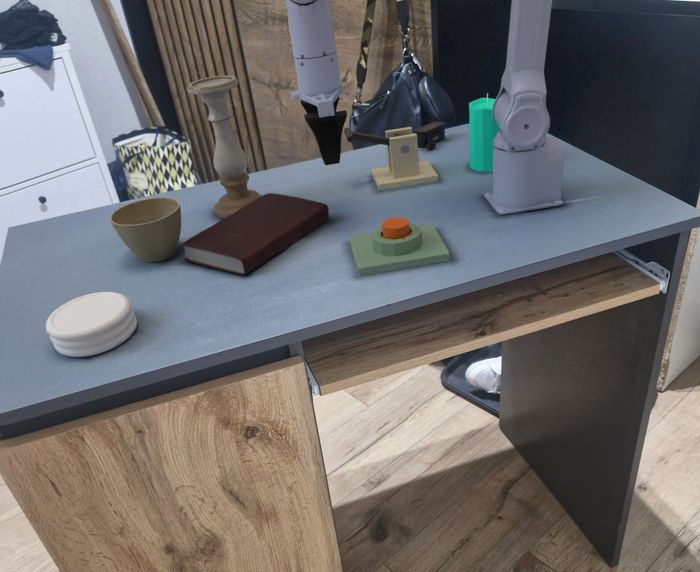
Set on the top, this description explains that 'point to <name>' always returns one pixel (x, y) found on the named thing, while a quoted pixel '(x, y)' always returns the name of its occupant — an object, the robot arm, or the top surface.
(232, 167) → the candle holder
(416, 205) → the top surface
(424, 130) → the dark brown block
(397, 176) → the stand
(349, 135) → the lever
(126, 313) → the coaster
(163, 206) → the flower pot
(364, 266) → the panel
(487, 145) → the candle
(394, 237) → the button
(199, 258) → the book
